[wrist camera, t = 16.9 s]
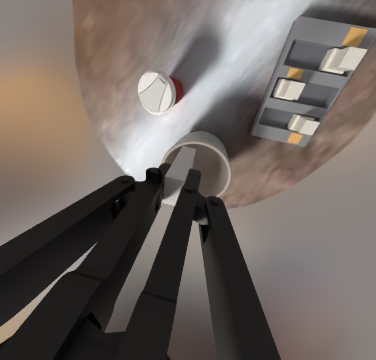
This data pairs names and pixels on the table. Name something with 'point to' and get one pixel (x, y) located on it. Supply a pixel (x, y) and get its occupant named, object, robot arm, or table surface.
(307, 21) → the switch bank
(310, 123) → the tab
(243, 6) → the table surface
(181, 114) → the table surface
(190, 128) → the table surface
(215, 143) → the concrete flower pot
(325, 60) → the tab
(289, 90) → the tab
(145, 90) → the paper cup
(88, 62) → the table surface
